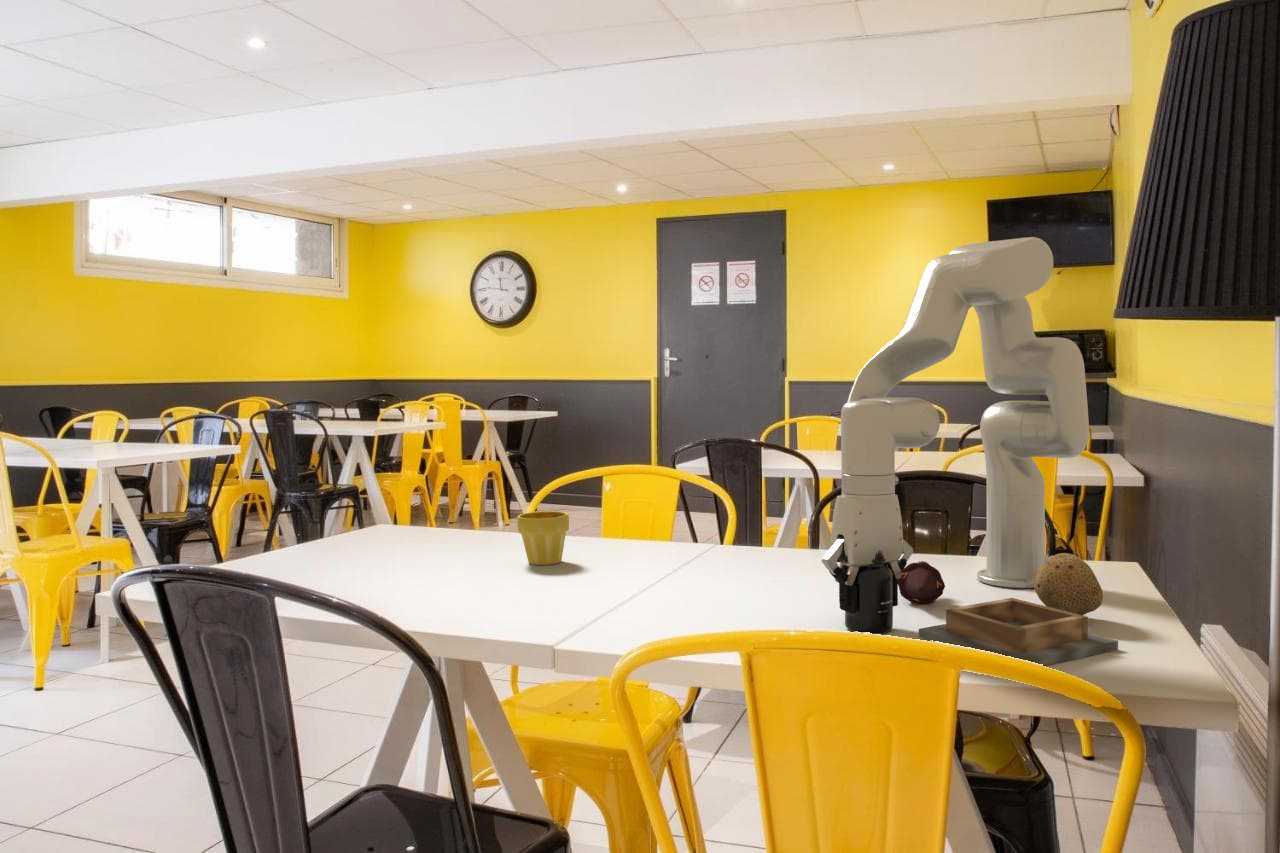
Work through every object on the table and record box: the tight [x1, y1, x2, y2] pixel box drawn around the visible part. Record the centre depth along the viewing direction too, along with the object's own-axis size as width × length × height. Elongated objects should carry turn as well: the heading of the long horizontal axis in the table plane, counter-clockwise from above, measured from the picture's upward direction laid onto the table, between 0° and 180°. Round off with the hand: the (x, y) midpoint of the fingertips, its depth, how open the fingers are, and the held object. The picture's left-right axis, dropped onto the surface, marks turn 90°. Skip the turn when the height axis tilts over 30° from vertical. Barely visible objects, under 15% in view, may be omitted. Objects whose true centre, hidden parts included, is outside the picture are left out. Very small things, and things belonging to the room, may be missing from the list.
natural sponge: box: [1033, 552, 1104, 616], centre depth 145 cm, size 9×9×10 cm
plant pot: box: [516, 510, 570, 566], centre depth 197 cm, size 10×10×10 cm
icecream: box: [898, 560, 946, 606], centre depth 157 cm, size 7×7×15 cm
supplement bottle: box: [844, 550, 894, 635], centre depth 142 cm, size 7×7×12 cm
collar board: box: [918, 597, 1119, 666], centre depth 133 cm, size 18×18×4 cm
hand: (868, 606), depth 142 cm, fingers closed on supplement bottle, 6 cm apart
